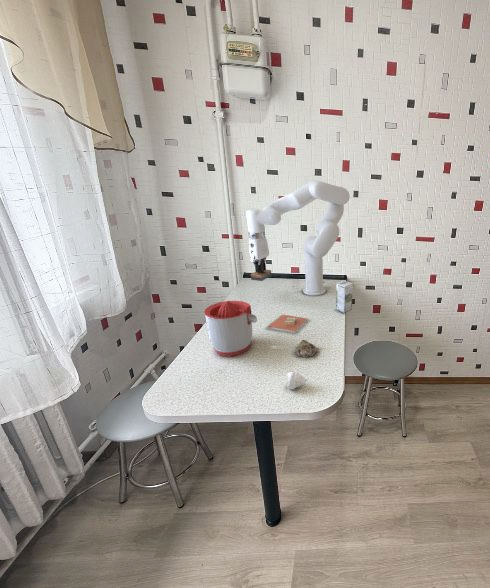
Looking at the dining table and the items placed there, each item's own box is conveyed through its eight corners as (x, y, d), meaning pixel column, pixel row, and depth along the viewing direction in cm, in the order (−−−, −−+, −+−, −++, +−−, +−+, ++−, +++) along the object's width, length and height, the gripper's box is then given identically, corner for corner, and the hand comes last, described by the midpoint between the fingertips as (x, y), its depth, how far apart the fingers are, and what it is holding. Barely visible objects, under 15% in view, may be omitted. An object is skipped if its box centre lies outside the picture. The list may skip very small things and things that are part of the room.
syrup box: (343, 306, 169) (343, 280, 163) (352, 310, 166) (352, 283, 160) (335, 310, 164) (335, 282, 159) (344, 313, 161) (345, 285, 156)
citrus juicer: (255, 359, 121) (250, 309, 114) (204, 361, 118) (196, 310, 111) (262, 338, 135) (258, 292, 128) (217, 339, 132) (210, 293, 125)
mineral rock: (320, 351, 124) (298, 348, 121) (317, 361, 125) (296, 359, 122) (315, 338, 133) (295, 335, 130) (312, 348, 134) (293, 345, 131)
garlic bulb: (305, 392, 105) (305, 378, 103) (286, 392, 105) (285, 378, 103) (308, 381, 110) (307, 368, 108) (289, 381, 110) (289, 368, 108)
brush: (261, 274, 173) (259, 257, 170) (271, 275, 172) (270, 258, 169) (251, 279, 165) (249, 262, 162) (261, 281, 164) (259, 263, 161)
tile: (282, 316, 155) (282, 314, 154) (308, 320, 152) (308, 318, 152) (267, 328, 143) (267, 326, 143) (295, 333, 140) (295, 331, 140)
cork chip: (287, 320, 149) (287, 317, 148) (296, 321, 149) (296, 318, 148) (285, 324, 145) (284, 321, 145) (294, 325, 145) (294, 322, 145)
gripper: (253, 239, 152) (258, 277, 159) (272, 232, 167) (276, 267, 174) (239, 238, 154) (244, 275, 161) (259, 231, 169) (263, 265, 175)
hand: (260, 270), depth 167 cm, fingers closed on brush, 3 cm apart
